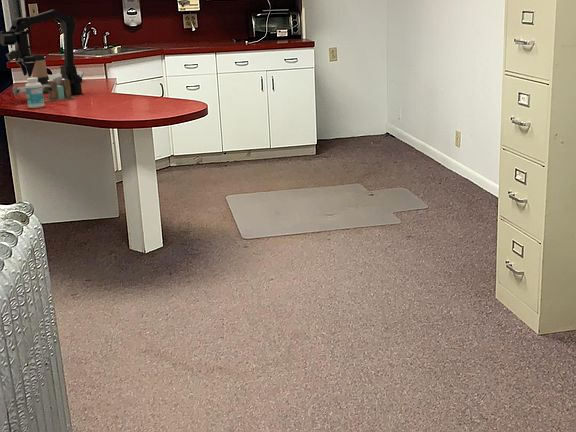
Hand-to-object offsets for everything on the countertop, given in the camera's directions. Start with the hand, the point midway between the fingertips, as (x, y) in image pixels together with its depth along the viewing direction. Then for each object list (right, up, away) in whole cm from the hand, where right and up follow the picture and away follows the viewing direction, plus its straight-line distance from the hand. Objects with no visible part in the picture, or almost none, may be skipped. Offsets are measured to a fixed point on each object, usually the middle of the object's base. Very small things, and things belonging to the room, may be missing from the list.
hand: (27, 76), depth 375 cm
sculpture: (-1, +8, +72) cm, 73 cm away
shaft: (+6, -10, -6) cm, 13 cm away
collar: (+16, -11, +1) cm, 19 cm away
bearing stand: (+13, -12, -1) cm, 18 cm away
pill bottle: (+12, -19, -24) cm, 33 cm away
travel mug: (-3, -3, +32) cm, 32 cm away
